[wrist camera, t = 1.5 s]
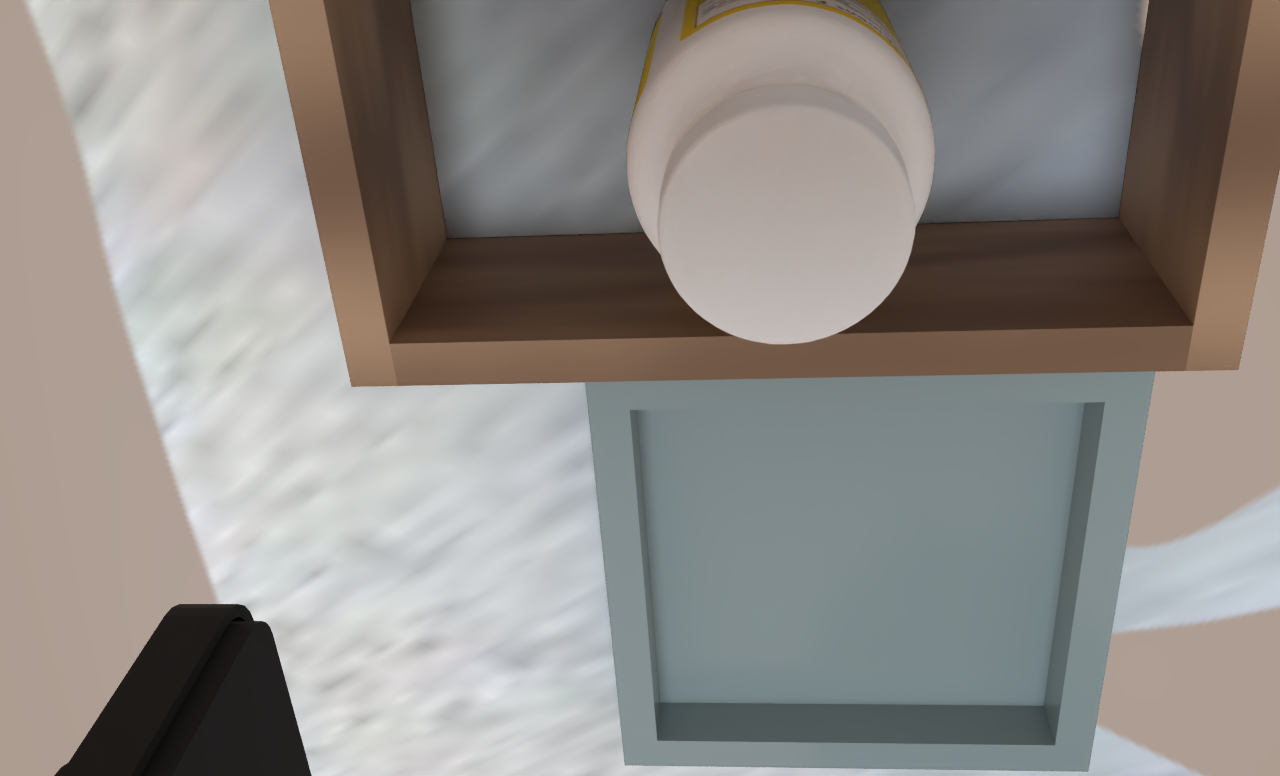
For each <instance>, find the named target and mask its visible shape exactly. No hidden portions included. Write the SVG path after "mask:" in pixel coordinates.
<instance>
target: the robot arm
mask: <svg viewBox="0 0 1280 776" xmlns="http://www.w3.org/2000/svg"><path fill="white" fill-rule="evenodd" d="M55 776H311V772H310V769H309V765H308V761H307V758H306V754H305V750H304V747H303V743H302V739H301V736H300V732H299V729H298V725H297V721H296V718H295V714H294V710H293V707H292V703H291V699H290V696H289V692H288V688H287V685H286V681H285V677H284V674H283V670H282V666H281V663H280V659H279V656H278V652H277V648H276V645H275V641H274V637H273V634H272V631H271V629H270V627H269V625H268V624H267V623H266V622H262V621H254V620H253V618H252V615H251V613H250V611H249V610H248V609H247V608H246V607H245V606H243V605H239V604H179V605H177V606H174V607H172V608H171V609H170V610H169V612H168V613H167V614H166V615H165V616H164V618H163V619H162V621H161V622H160V624H159V626H158V627H157V628H156V630H155V631H154V633H153V635H152V636H151V638H150V639H149V641H148V642H147V644H146V645H145V647H144V648H143V650H142V651H141V653H140V654H139V656H138V657H137V659H136V661H135V662H134V664H133V665H132V667H131V668H130V670H129V671H128V673H127V674H126V676H125V677H124V679H123V680H122V682H121V683H120V685H119V687H118V688H117V690H116V691H115V693H114V694H113V696H112V697H111V699H110V700H109V702H108V703H107V705H106V706H105V708H104V709H103V711H102V712H101V714H100V716H99V717H98V719H97V720H96V722H95V724H94V725H93V726H92V728H91V729H90V731H89V732H88V734H87V736H86V737H85V739H84V740H83V742H82V743H81V745H80V746H79V748H78V749H77V751H76V752H75V754H74V755H73V757H72V758H71V760H70V761H69V763H67V764H66V765H64V766H63V767H61V768H60V770H59V771H58V772H57V773H56V774H55Z"/></svg>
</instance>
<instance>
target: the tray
mask: <svg viewBox="0 0 1280 776" xmlns="http://www.w3.org/2000/svg"><path fill="white" fill-rule="evenodd" d="M1154 375H1155V371H1148V372H1095V373H1042V374H990V375H937V376H884V377H832V378H779V379H726V380H673V381H621V382H585V383H586V393H587V402H588V412H589V422H590V432H591V441H592V451H593V461H594V470H595V480H596V490H597V500H598V509H599V519H600V529H601V538H602V548H603V558H604V567H605V577H606V587H607V597H608V606H609V616H610V626H611V635H612V645H613V655H614V665H615V674H616V684H617V694H618V703H619V713H620V723H621V733H622V742H623V752H624V762H625V765H644V766H717V767H790V768H863V769H937V770H1010V771H1083V772H1088V770H1089V764H1090V758H1091V752H1092V746H1093V740H1094V734H1095V728H1096V722H1097V716H1098V710H1099V704H1100V698H1101V692H1102V686H1103V680H1104V674H1105V668H1106V662H1107V656H1108V650H1109V644H1110V639H1111V633H1112V627H1113V621H1114V615H1115V609H1116V603H1117V597H1118V591H1119V585H1120V579H1121V573H1122V567H1123V561H1124V555H1125V549H1126V543H1127V537H1128V531H1129V525H1130V519H1131V513H1132V507H1133V501H1134V495H1135V489H1136V482H1137V477H1138V471H1139V465H1140V459H1141V453H1142V447H1143V441H1144V435H1145V429H1146V423H1147V417H1148V411H1149V405H1150V399H1151V393H1152V387H1153V381H1154Z"/></svg>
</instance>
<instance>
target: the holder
mask: <svg viewBox="0 0 1280 776" xmlns="http://www.w3.org/2000/svg"><path fill="white" fill-rule="evenodd" d="M269 4H270V9H271V14H272V18H273V23H274V28H275V32H276V37H277V42H278V46H279V51H280V56H281V60H282V65H283V70H284V74H285V79H286V83H287V88H288V93H289V97H290V102H291V107H292V111H293V116H294V121H295V125H296V130H297V135H298V139H299V144H300V149H301V153H302V158H303V163H304V167H305V172H306V177H307V181H308V186H309V191H310V195H311V200H312V205H313V209H314V214H315V219H316V223H317V228H318V233H319V237H320V242H321V247H322V251H323V256H324V261H325V265H326V270H327V274H328V279H329V284H330V288H331V293H332V298H333V302H334V307H335V312H336V316H337V321H338V326H339V330H340V335H341V340H342V344H343V349H344V354H345V358H346V363H347V368H348V372H349V377H350V382H351V386H352V387H357V386H410V385H463V384H515V383H568V382H621V381H673V380H726V379H779V378H832V377H884V376H937V375H990V374H1042V373H1095V372H1148V371H1200V370H1238V369H1239V364H1240V359H1241V354H1242V349H1243V344H1244V340H1245V335H1246V330H1247V325H1248V320H1249V315H1250V310H1251V306H1252V301H1253V296H1254V291H1255V285H1256V281H1257V277H1258V272H1259V267H1260V262H1261V257H1262V252H1263V247H1264V242H1265V238H1266V233H1267V228H1268V223H1269V218H1270V213H1271V209H1272V204H1273V199H1274V194H1275V188H1276V184H1277V180H1278V175H1279V170H1280V0H1149V5H1148V13H1147V20H1146V27H1145V34H1144V41H1143V48H1142V56H1141V63H1140V70H1139V77H1138V84H1137V91H1136V98H1135V106H1134V113H1133V120H1132V127H1131V134H1130V141H1129V148H1128V156H1127V163H1126V170H1125V177H1124V184H1123V191H1122V199H1121V206H1120V213H1119V218H1101V219H1069V220H1037V221H1005V222H974V223H942V224H917V225H916V227H915V237H914V241H913V246H912V250H911V254H910V257H909V260H908V263H907V265H906V267H905V270H904V272H903V274H902V276H901V277H900V279H899V281H898V283H897V284H896V285H895V287H894V288H893V290H892V291H891V293H890V294H889V295H888V296H887V297H886V298H885V299H884V301H883V302H882V303H881V304H880V305H879V306H878V307H876V308H875V309H874V310H873V311H872V312H871V313H870V314H869V315H867V316H866V317H864V318H863V319H862V320H860V321H859V322H857V323H856V324H854V325H852V326H850V327H849V328H847V329H845V330H843V331H841V332H838V333H836V334H834V335H831V336H829V337H826V338H822V339H819V340H815V341H811V342H805V343H797V344H767V343H761V342H754V341H750V340H746V339H743V338H739V337H737V336H734V335H731V334H729V333H727V332H725V331H723V330H721V329H719V328H717V327H715V326H714V325H712V324H711V323H709V322H708V321H706V320H705V319H703V318H702V317H701V316H700V315H698V314H697V313H696V312H695V311H694V310H693V309H692V308H691V307H690V306H689V305H688V304H687V303H686V302H685V300H684V299H683V298H682V297H681V296H680V295H679V293H678V292H677V290H676V289H675V287H674V285H673V284H672V282H671V280H670V278H669V276H668V274H667V271H666V269H665V266H664V264H663V261H662V258H661V254H660V253H659V252H658V251H657V249H656V248H655V247H654V245H653V244H652V243H651V241H650V240H649V238H648V237H647V235H646V233H625V234H593V235H562V236H530V237H498V238H467V239H447V236H446V230H445V223H444V217H443V211H442V204H441V198H440V192H439V185H438V179H437V173H436V166H435V160H434V154H433V147H432V141H431V135H430V128H429V122H428V116H427V109H426V103H425V97H424V90H423V84H422V78H421V71H420V65H419V59H418V52H417V46H416V40H415V33H414V27H413V21H412V14H411V8H410V2H409V0H269Z"/></svg>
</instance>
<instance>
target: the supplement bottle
mask: <svg viewBox="0 0 1280 776" xmlns="http://www.w3.org/2000/svg"><path fill="white" fill-rule="evenodd" d="M934 167H935V142H934V132H933V127H932V122H931V118H930V114H929V110H928V106H927V103H926V100H925V97H924V95H923V92H922V89H921V87H920V85H919V83H918V81H917V78H916V76H915V74H914V72H913V70H912V68H911V65H910V63H909V62H908V59H907V57H906V55H905V53H904V51H903V48H902V46H901V44H900V42H899V40H898V38H897V36H896V34H895V32H894V29H893V27H892V25H891V23H890V21H889V19H888V17H887V15H886V13H885V11H884V9H883V7H882V5H881V4H880V2H879V0H667V2H666V3H665V5H664V7H663V9H662V11H661V13H660V15H659V17H658V19H657V21H656V24H655V26H654V29H653V33H652V36H651V39H650V43H649V47H648V51H647V55H646V60H645V64H644V69H643V73H642V77H641V81H640V86H639V90H638V94H637V99H636V103H635V107H634V111H633V116H632V120H631V125H630V129H629V135H628V141H627V178H628V185H629V191H630V196H631V199H632V203H633V206H634V209H635V212H636V214H637V217H638V219H639V222H640V224H641V226H642V228H643V230H644V231H645V233H646V235H647V237H648V238H649V240H650V241H651V243H652V244H653V245H654V247H655V248H656V249H657V251H658V252H659V253H660V254H661V258H662V261H663V264H664V266H665V269H666V271H667V274H668V276H669V278H670V280H671V282H672V284H673V285H674V287H675V289H676V290H677V292H678V293H679V295H680V296H681V297H682V298H683V299H684V300H685V302H686V303H687V304H688V305H689V306H690V307H691V308H692V309H693V310H694V311H695V312H696V313H697V314H698V315H700V316H701V317H702V318H703V319H705V320H706V321H708V322H709V323H711V324H712V325H714V326H715V327H717V328H719V329H721V330H723V331H725V332H727V333H729V334H731V335H734V336H737V337H739V338H743V339H746V340H750V341H754V342H761V343H767V344H797V343H805V342H811V341H815V340H819V339H822V338H826V337H829V336H831V335H834V334H836V333H838V332H841V331H843V330H845V329H847V328H849V327H850V326H852V325H854V324H856V323H857V322H859V321H860V320H862V319H863V318H864V317H866V316H867V315H869V314H870V313H871V312H872V311H873V310H874V309H875V308H876V307H878V306H879V305H880V304H881V303H882V302H883V301H884V299H885V298H886V297H887V296H888V295H889V294H890V293H891V291H892V290H893V288H894V287H895V285H896V284H897V283H898V281H899V279H900V277H901V276H902V274H903V272H904V270H905V267H906V265H907V263H908V260H909V257H910V254H911V250H912V246H913V241H914V237H915V227H916V225H917V223H918V221H919V220H920V218H921V216H922V213H923V211H924V208H925V206H926V203H927V200H928V197H929V194H930V190H931V186H932V181H933V175H934Z"/></svg>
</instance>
